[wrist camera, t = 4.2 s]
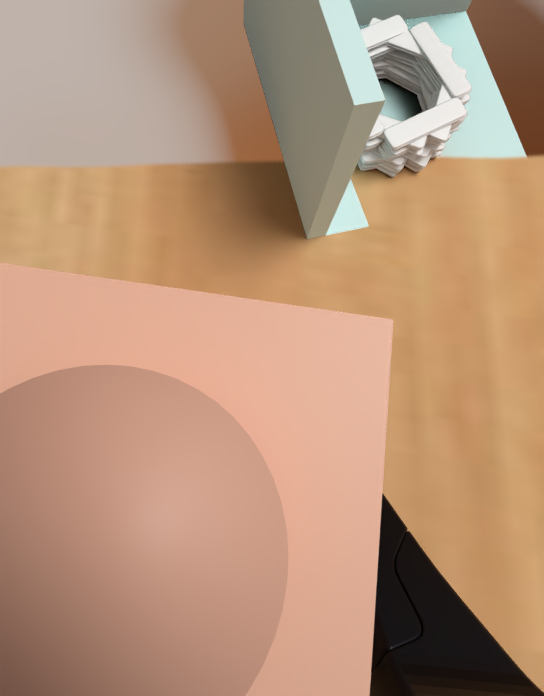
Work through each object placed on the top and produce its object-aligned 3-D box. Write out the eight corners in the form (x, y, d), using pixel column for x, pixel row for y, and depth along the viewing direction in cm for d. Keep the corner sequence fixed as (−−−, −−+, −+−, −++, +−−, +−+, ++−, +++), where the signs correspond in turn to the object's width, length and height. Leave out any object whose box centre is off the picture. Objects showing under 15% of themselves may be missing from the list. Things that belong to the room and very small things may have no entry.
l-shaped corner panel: (307, 239, 18) (354, 105, 10) (243, 24, 20) (245, -216, 12) (541, 190, 19) (728, 43, 12) (459, -5, 21) (574, -234, 14)
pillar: (267, 526, 15) (394, 1016, 3) (136, 512, 15) (-431, 972, 2) (282, 398, 16) (426, 295, 4) (160, 381, 16) (-142, 212, 3)
